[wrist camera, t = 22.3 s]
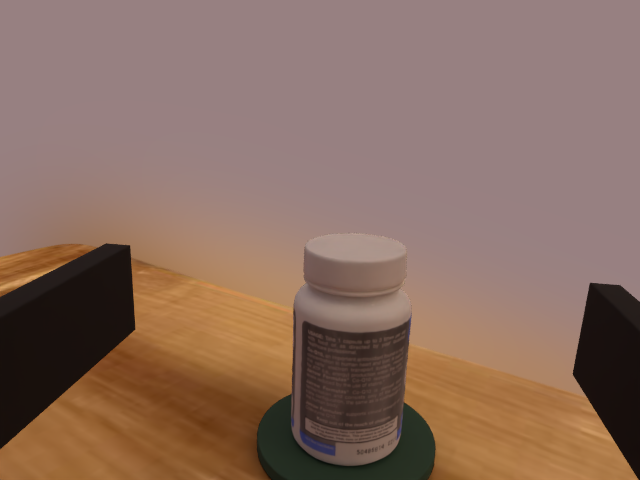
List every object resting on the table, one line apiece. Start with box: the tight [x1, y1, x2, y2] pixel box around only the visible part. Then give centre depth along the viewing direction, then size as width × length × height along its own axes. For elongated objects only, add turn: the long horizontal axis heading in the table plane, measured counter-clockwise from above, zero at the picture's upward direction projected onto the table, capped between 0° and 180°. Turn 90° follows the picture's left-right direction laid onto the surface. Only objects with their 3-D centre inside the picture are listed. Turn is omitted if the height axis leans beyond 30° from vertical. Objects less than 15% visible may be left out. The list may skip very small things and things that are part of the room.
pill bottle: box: [291, 233, 412, 466], centre depth 21 cm, size 5×5×8 cm
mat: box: [257, 394, 436, 480], centre depth 23 cm, size 8×8×1 cm
